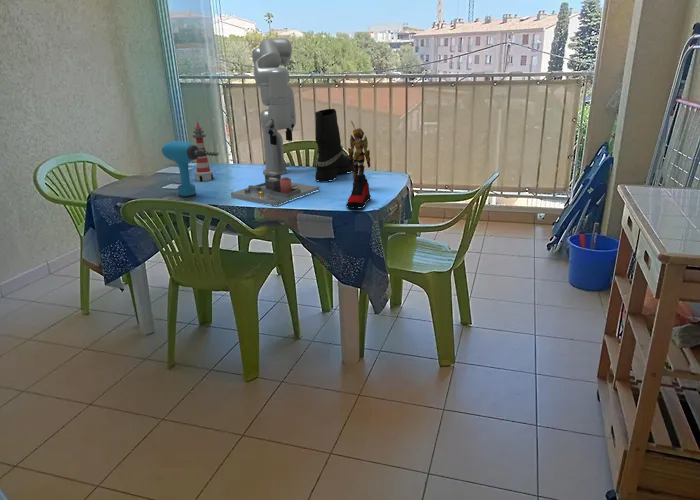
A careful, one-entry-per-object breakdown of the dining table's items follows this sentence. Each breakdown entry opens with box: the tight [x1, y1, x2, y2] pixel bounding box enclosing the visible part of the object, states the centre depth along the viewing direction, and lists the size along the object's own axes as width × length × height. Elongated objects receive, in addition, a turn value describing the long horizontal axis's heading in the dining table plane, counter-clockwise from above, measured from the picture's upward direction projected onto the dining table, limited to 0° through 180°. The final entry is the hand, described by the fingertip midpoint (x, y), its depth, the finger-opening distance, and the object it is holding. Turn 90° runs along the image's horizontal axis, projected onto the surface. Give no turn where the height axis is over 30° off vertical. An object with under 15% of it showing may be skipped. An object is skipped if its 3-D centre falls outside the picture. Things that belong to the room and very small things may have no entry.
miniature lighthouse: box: [192, 120, 215, 182], centre depth 245 cm, size 9×9×30 cm
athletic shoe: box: [345, 173, 372, 209], centre depth 204 cm, size 8×20×12 cm, turn 166°
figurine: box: [347, 120, 371, 187], centre depth 223 cm, size 11×7×30 cm
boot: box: [314, 108, 354, 181], centre depth 249 cm, size 12×35×33 cm, turn 154°
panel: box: [230, 181, 320, 207], centre depth 222 cm, size 28×26×4 cm
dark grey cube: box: [264, 172, 282, 182], centre depth 230 cm, size 5×5×5 cm
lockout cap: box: [280, 176, 292, 193], centre depth 215 cm, size 5×5×7 cm
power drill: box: [161, 140, 219, 198], centre depth 217 cm, size 28×9×23 cm, turn 68°
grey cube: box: [264, 178, 280, 190], centre depth 220 cm, size 5×5×5 cm
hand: (281, 142), depth 217 cm, fingers open, 9 cm apart
